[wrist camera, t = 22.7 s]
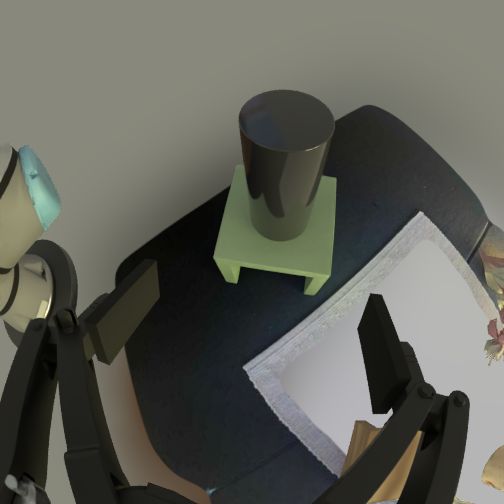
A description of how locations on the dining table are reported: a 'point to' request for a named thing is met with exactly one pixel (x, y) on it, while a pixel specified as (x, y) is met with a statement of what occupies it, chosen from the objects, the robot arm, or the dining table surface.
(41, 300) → the robot arm
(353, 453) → the low shelf
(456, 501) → the beer glass
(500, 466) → the teacup with lid
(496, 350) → the flower
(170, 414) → the dining table surface
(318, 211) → the green step stool
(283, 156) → the dark grey cylinder
